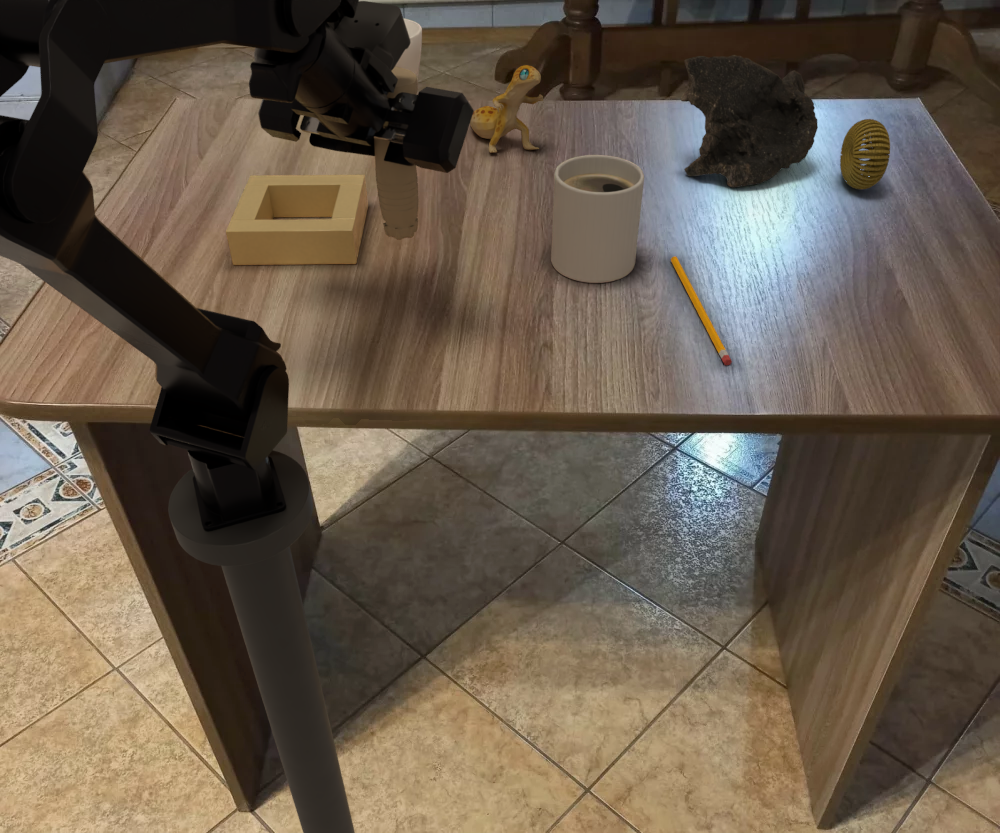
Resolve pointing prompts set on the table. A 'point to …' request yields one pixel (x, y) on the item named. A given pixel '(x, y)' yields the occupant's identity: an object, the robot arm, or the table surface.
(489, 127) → the toy
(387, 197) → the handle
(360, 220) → the stand
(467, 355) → the table surface
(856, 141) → the sculpture
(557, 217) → the mug
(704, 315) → the pencil
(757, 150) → the rock
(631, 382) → the table surface
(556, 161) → the table surface
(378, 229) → the table surface
